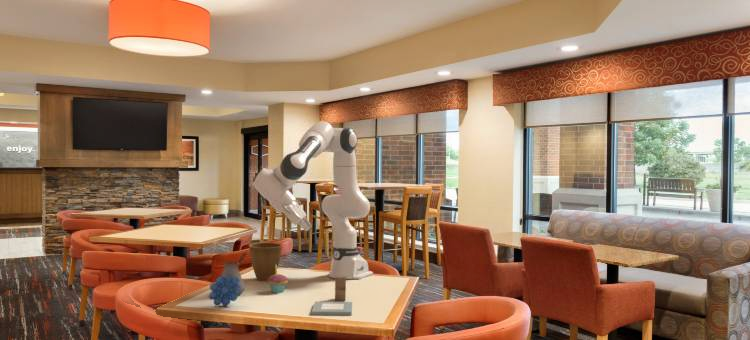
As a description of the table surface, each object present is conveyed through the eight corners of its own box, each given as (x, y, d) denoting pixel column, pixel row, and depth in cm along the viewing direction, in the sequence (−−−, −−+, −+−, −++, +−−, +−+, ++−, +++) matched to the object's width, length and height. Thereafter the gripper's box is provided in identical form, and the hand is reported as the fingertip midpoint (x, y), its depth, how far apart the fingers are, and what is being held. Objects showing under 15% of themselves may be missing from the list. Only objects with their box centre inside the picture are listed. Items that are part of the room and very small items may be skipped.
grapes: (242, 302, 206) (242, 271, 206) (240, 307, 199) (240, 274, 199) (210, 303, 204) (211, 271, 204) (207, 308, 198) (208, 275, 198)
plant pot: (242, 279, 249) (243, 244, 249) (270, 275, 259) (271, 241, 259) (259, 284, 238) (259, 248, 238) (287, 280, 248) (288, 245, 248)
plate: (315, 304, 205) (315, 301, 205) (352, 305, 205) (352, 301, 205) (311, 314, 191) (311, 311, 191) (351, 315, 191) (351, 311, 191)
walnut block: (335, 298, 215) (335, 275, 215) (345, 298, 215) (345, 276, 215) (334, 301, 211) (335, 278, 211) (345, 301, 211) (345, 278, 211)
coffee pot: (237, 298, 212) (238, 260, 212) (210, 297, 214) (211, 259, 214) (258, 287, 233) (259, 252, 233) (233, 285, 235) (234, 251, 235)
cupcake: (283, 294, 221) (283, 265, 220) (263, 293, 222) (264, 264, 222) (290, 289, 229) (291, 261, 229) (271, 288, 231) (272, 260, 231)
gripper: (287, 199, 202) (313, 225, 202) (294, 196, 223) (317, 220, 223) (275, 210, 202) (300, 237, 202) (282, 207, 222) (306, 231, 223)
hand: (309, 228), depth 213 cm, fingers open, 8 cm apart
